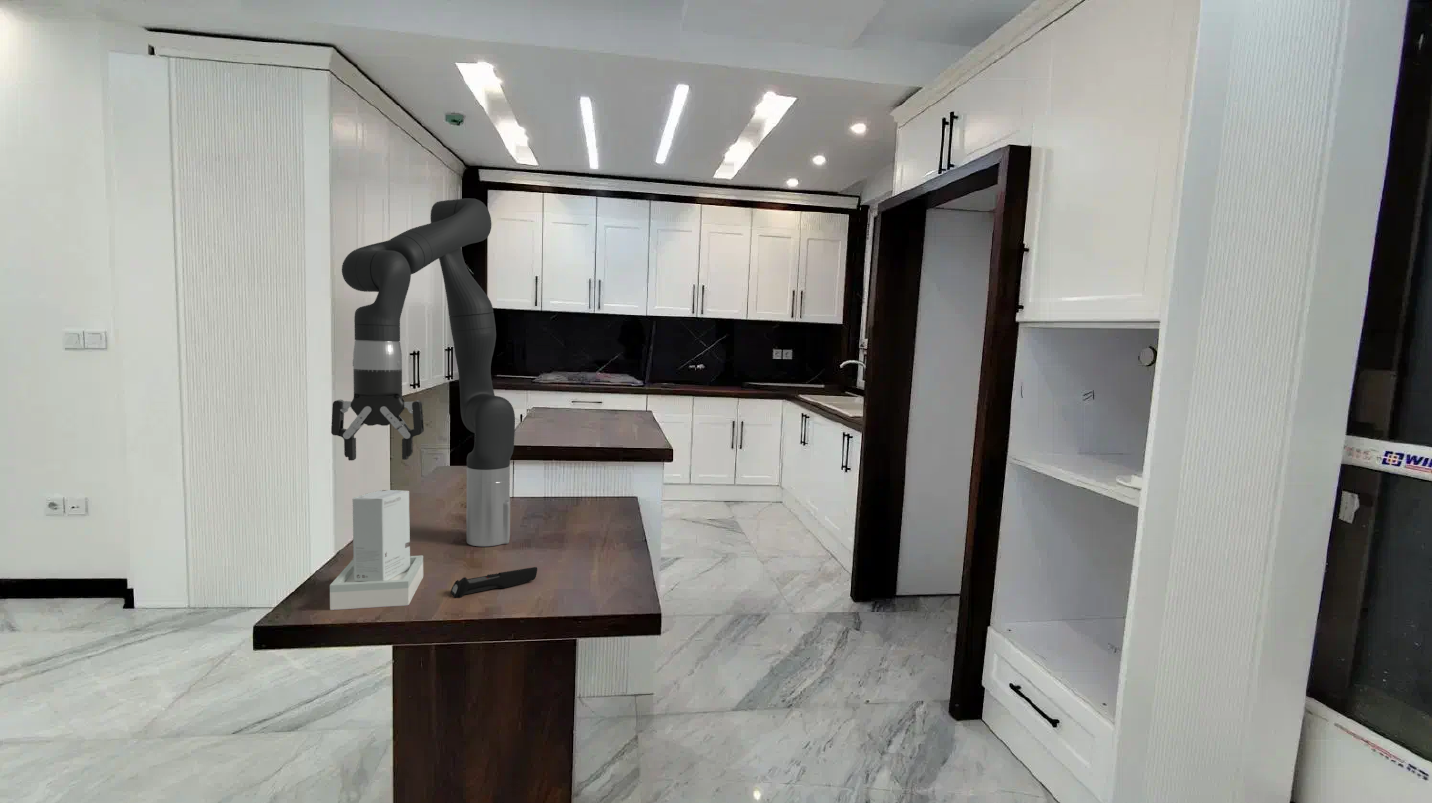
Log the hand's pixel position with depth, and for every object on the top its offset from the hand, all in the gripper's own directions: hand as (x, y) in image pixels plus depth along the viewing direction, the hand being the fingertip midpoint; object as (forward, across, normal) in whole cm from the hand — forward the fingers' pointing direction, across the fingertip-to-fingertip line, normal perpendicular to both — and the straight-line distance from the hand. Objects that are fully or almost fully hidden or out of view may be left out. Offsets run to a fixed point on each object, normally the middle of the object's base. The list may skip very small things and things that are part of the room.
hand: (379, 459), depth 116 cm
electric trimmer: (+25, -19, +1) cm, 31 cm away
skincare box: (+21, 0, 0) cm, 21 cm away
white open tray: (+24, 0, 0) cm, 24 cm away
